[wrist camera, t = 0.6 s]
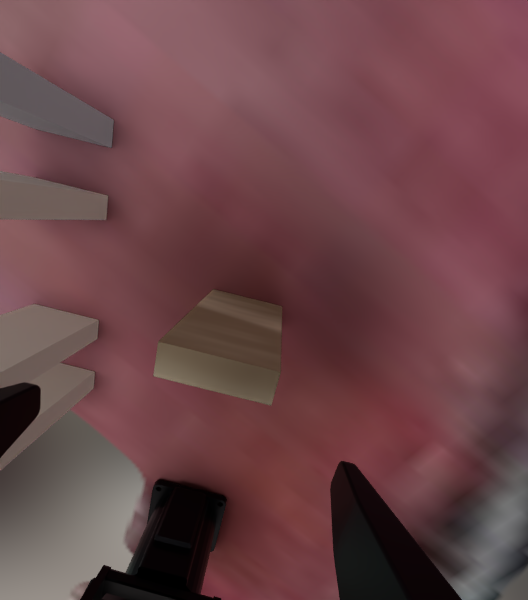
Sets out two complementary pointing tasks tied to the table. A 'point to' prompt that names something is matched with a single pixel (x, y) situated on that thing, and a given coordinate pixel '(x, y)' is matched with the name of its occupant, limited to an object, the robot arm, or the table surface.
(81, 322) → the domino
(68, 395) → the domino
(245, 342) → the domino
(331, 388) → the table surface
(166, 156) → the table surface
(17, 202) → the domino
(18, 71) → the domino
